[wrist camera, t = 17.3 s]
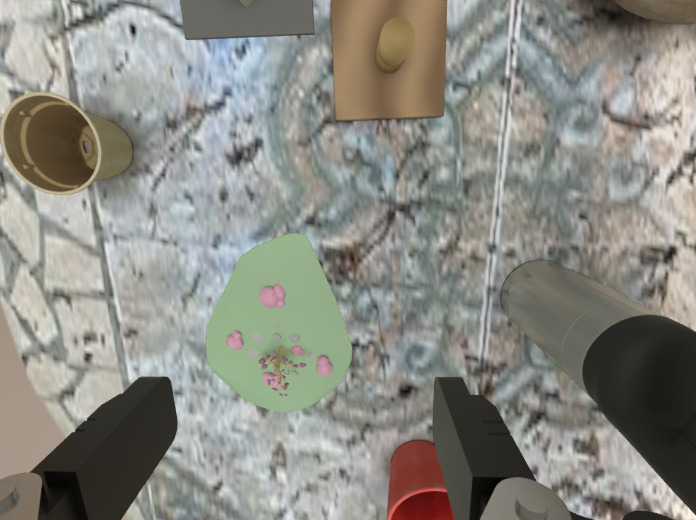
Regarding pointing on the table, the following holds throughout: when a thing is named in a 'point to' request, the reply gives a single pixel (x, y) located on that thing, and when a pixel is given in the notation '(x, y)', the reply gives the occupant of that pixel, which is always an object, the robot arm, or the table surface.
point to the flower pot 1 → (61, 144)
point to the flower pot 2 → (417, 484)
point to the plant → (279, 328)
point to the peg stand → (388, 58)
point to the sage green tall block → (245, 2)
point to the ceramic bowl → (662, 10)
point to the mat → (246, 18)
